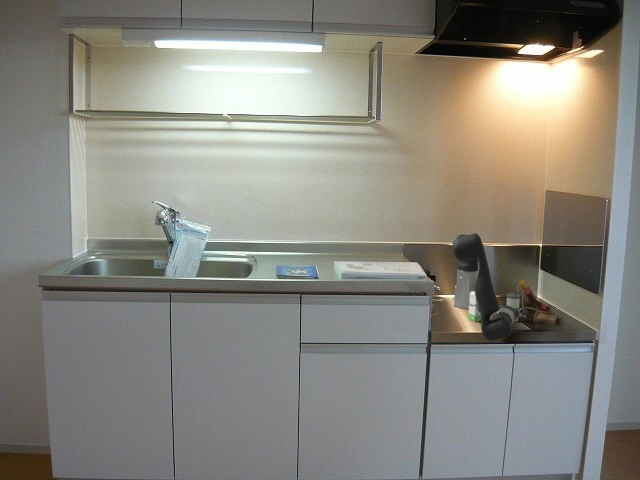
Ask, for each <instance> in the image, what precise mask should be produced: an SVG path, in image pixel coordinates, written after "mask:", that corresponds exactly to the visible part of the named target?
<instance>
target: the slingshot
mask: <svg viewBox="0 0 640 480" xmlns="http://www.w3.org/2000/svg"><path fill="white" fill-rule="evenodd" d="M518 284H519V285H517V287H516V290H517V291H516V292H517V294H519V295H520V298H521V305H522V307H523V308H525V309H527V310H529V309H530V310H534V311H535V312H536V311H537V310H538V311H545V312H550V310H551V307H550V305H548V304H546V303H543V302H541V301H539V300H537V299H536V298H535V296H534V294H533V291H532V289H531V287H530V285H527V282H526V280H525V279H522V280H519V281H518ZM519 288H520V289H522V290H523V291H522V295H521V294H520V291H519ZM524 299H526V300H525V304H526V305H530V306H527V307H526V306H524ZM532 305H533V306H536V307H537V308H539V309H536V308H534V307H531V306H532ZM525 309H524V310H525Z"/></svg>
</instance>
